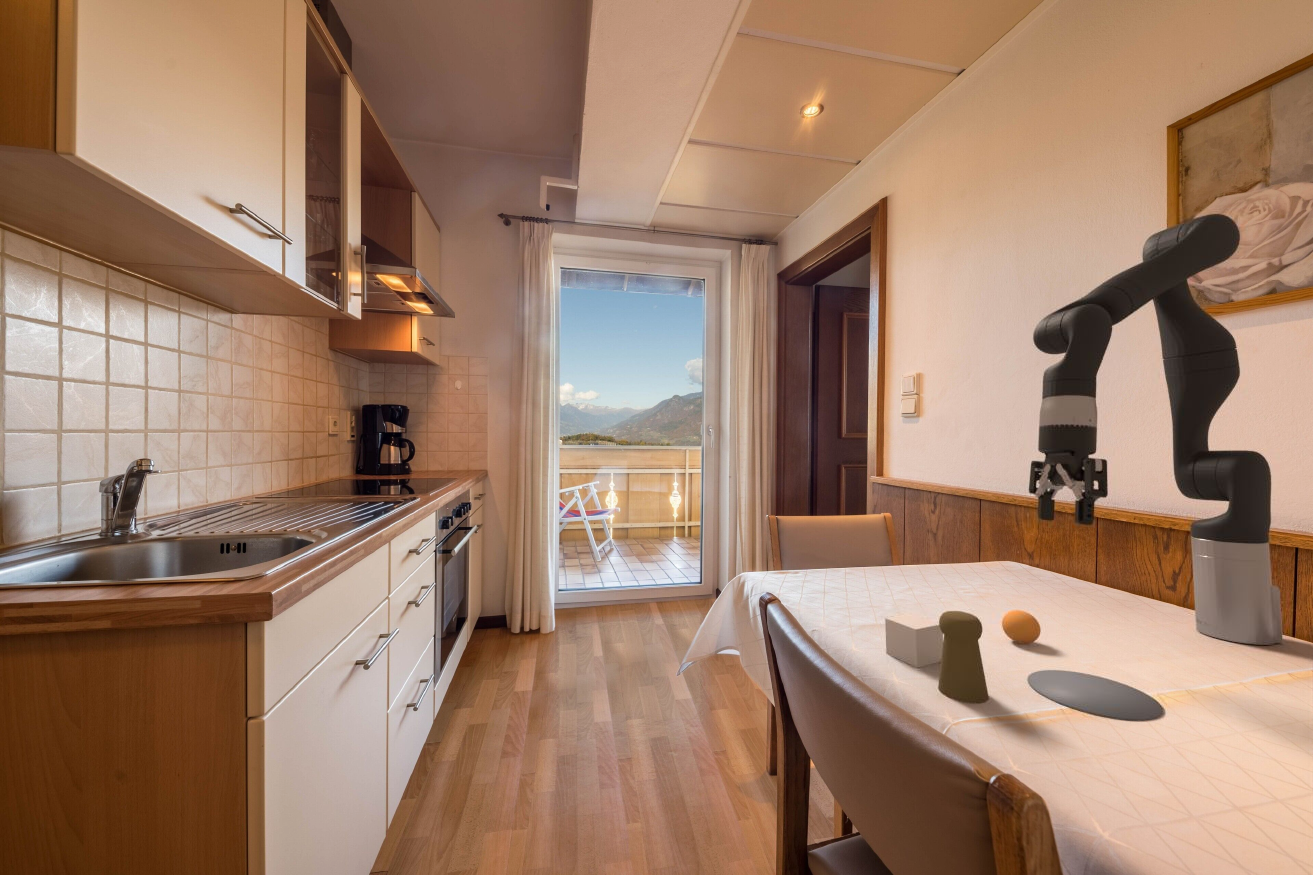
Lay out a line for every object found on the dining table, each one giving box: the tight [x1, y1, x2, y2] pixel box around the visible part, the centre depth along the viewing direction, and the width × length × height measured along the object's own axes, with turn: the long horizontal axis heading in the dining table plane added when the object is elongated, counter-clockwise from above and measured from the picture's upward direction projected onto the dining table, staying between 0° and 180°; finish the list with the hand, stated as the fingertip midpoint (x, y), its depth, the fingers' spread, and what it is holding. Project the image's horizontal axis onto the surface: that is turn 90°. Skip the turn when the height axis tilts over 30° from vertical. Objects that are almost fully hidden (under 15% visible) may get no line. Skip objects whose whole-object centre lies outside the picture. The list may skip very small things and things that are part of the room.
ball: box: [1001, 609, 1041, 644], centre depth 87 cm, size 6×6×6 cm
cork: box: [937, 610, 990, 704], centre depth 69 cm, size 6×6×11 cm
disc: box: [1027, 669, 1164, 721], centre depth 68 cm, size 14×14×1 cm
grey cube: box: [884, 613, 944, 668], centre depth 82 cm, size 6×6×6 cm
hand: (1063, 522), depth 82 cm, fingers open, 8 cm apart
